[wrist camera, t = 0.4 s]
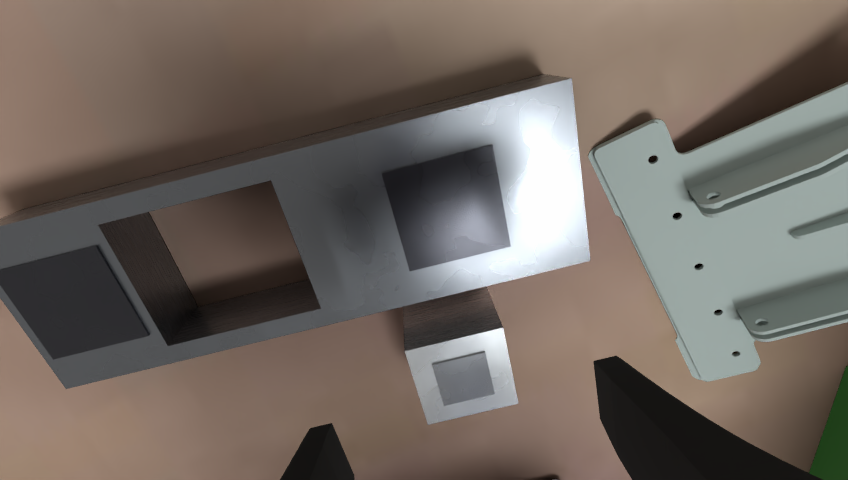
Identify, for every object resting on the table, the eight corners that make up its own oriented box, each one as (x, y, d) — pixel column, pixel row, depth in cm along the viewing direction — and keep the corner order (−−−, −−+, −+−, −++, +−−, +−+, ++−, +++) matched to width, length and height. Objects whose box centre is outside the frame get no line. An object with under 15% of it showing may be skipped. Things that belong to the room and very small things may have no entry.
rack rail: (563, 232, 20) (591, 261, 18) (108, 345, 21) (64, 390, 18) (543, 74, 18) (572, 78, 15) (21, 209, 18) (-47, 238, 16)
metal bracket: (1072, -52, 12) (1078, 331, 17) (913, -48, 17) (957, 251, 22) (565, 181, 18) (686, 413, 23) (555, 135, 23) (657, 335, 28)
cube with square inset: (498, 346, 23) (519, 405, 19) (422, 365, 23) (428, 426, 19) (483, 280, 21) (503, 329, 17) (402, 300, 21) (404, 352, 18)
